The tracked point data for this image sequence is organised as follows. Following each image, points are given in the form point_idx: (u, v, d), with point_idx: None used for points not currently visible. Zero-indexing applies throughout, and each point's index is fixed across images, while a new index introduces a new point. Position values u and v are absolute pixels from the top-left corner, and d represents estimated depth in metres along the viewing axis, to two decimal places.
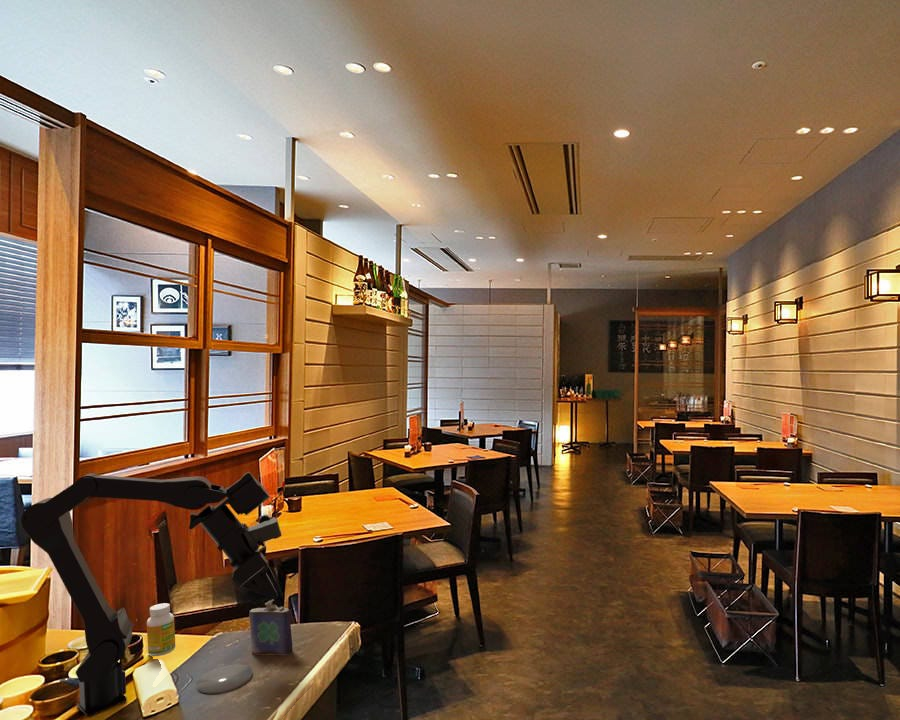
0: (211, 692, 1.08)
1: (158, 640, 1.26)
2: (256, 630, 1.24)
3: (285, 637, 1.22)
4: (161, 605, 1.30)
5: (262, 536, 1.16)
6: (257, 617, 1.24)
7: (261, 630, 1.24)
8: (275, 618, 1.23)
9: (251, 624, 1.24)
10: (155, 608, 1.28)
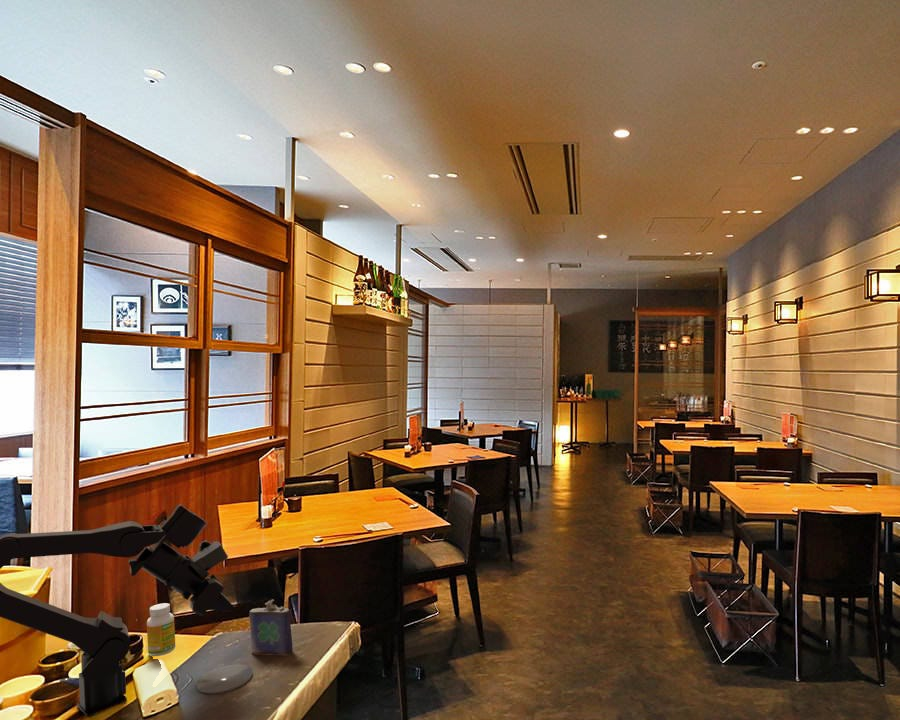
0: (211, 692, 1.08)
1: (158, 640, 1.26)
2: (256, 630, 1.24)
3: (285, 637, 1.22)
4: (161, 605, 1.30)
5: (209, 562, 1.17)
6: (257, 617, 1.24)
7: (261, 630, 1.24)
8: (275, 618, 1.23)
9: (251, 624, 1.24)
10: (155, 608, 1.28)
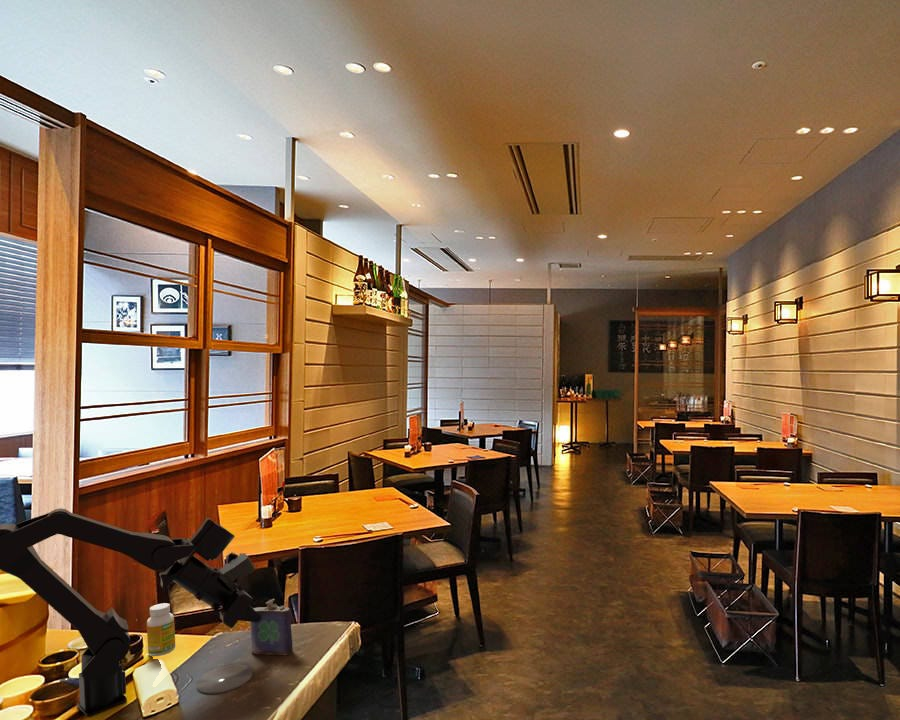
0: (211, 692, 1.08)
1: (158, 640, 1.26)
2: (256, 629, 1.24)
3: (285, 637, 1.22)
4: (161, 605, 1.29)
5: (237, 574, 1.19)
6: None
7: (261, 629, 1.24)
8: (275, 617, 1.23)
9: (251, 623, 1.24)
10: (155, 608, 1.28)
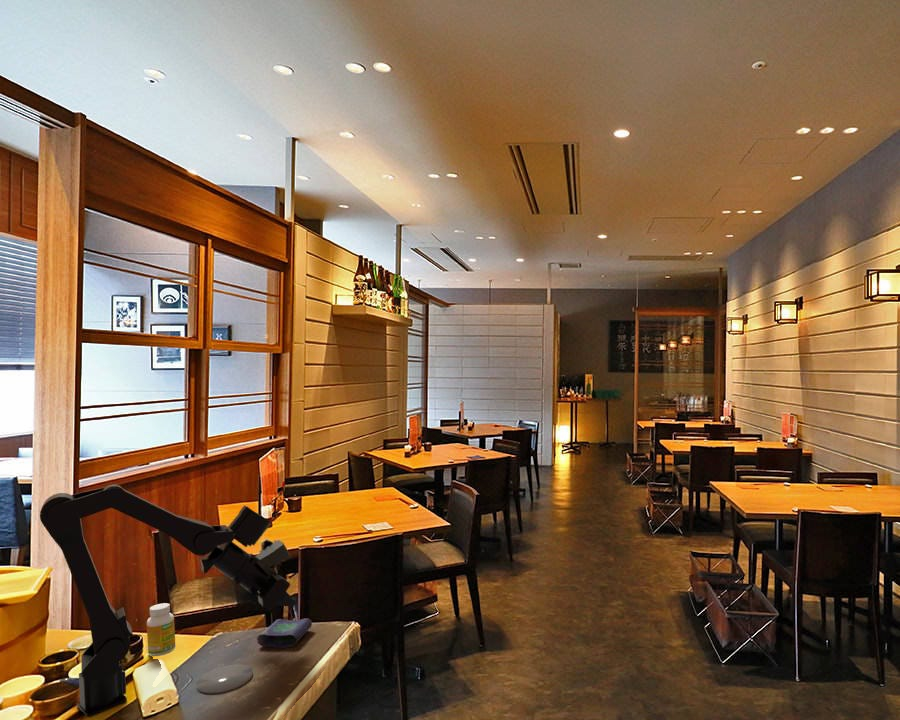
0: (211, 692, 1.08)
1: (158, 640, 1.26)
2: (275, 625, 1.31)
3: (299, 628, 1.29)
4: (161, 605, 1.29)
5: (274, 560, 1.23)
6: (281, 621, 1.34)
7: (279, 626, 1.31)
8: (298, 621, 1.33)
9: (272, 624, 1.33)
10: (155, 608, 1.28)
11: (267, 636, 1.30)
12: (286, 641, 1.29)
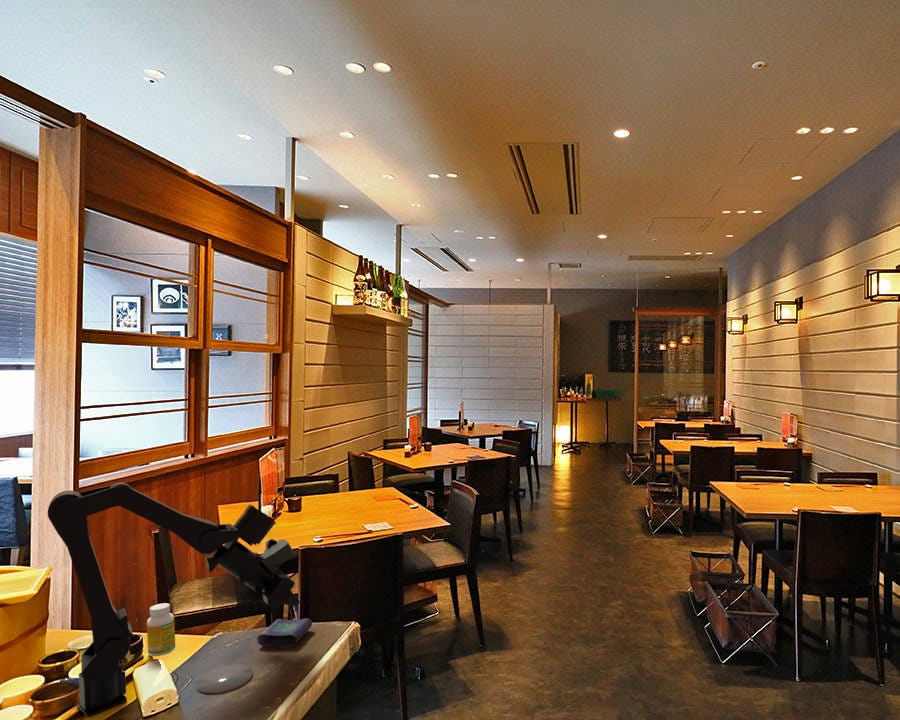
0: (211, 692, 1.08)
1: (158, 640, 1.26)
2: (275, 625, 1.31)
3: (299, 628, 1.29)
4: (161, 605, 1.29)
5: (278, 559, 1.24)
6: (281, 621, 1.34)
7: (279, 626, 1.31)
8: (298, 621, 1.33)
9: None
10: (155, 608, 1.28)
11: (267, 636, 1.30)
12: (286, 641, 1.29)
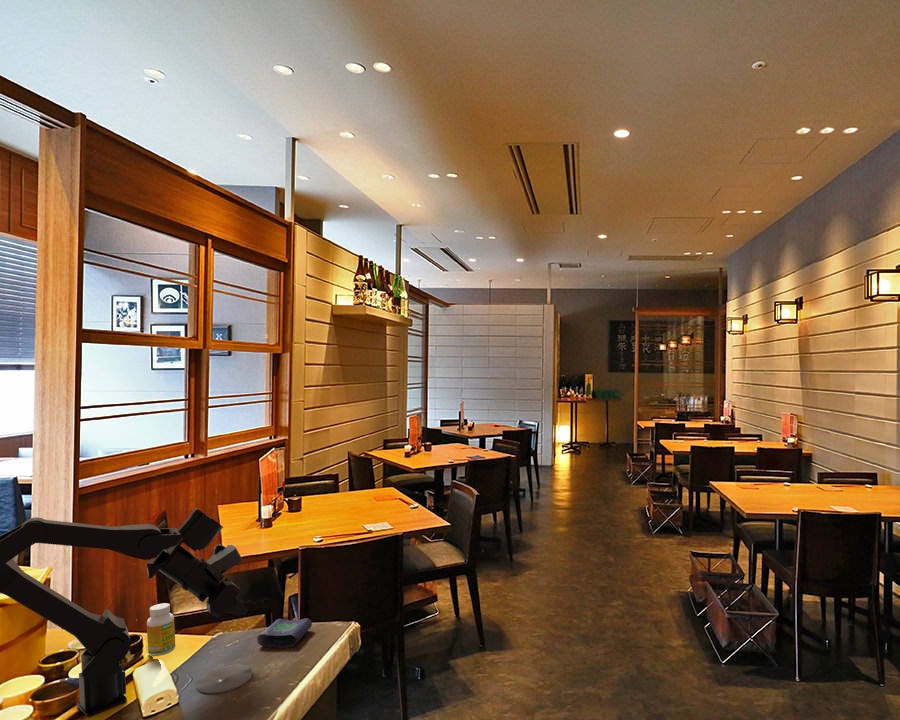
0: (211, 692, 1.08)
1: (158, 640, 1.26)
2: (275, 625, 1.31)
3: (299, 628, 1.29)
4: (161, 605, 1.29)
5: (225, 565, 1.18)
6: (281, 621, 1.34)
7: (279, 626, 1.31)
8: (298, 621, 1.33)
9: None
10: (155, 608, 1.28)
11: (267, 636, 1.30)
12: (286, 641, 1.29)
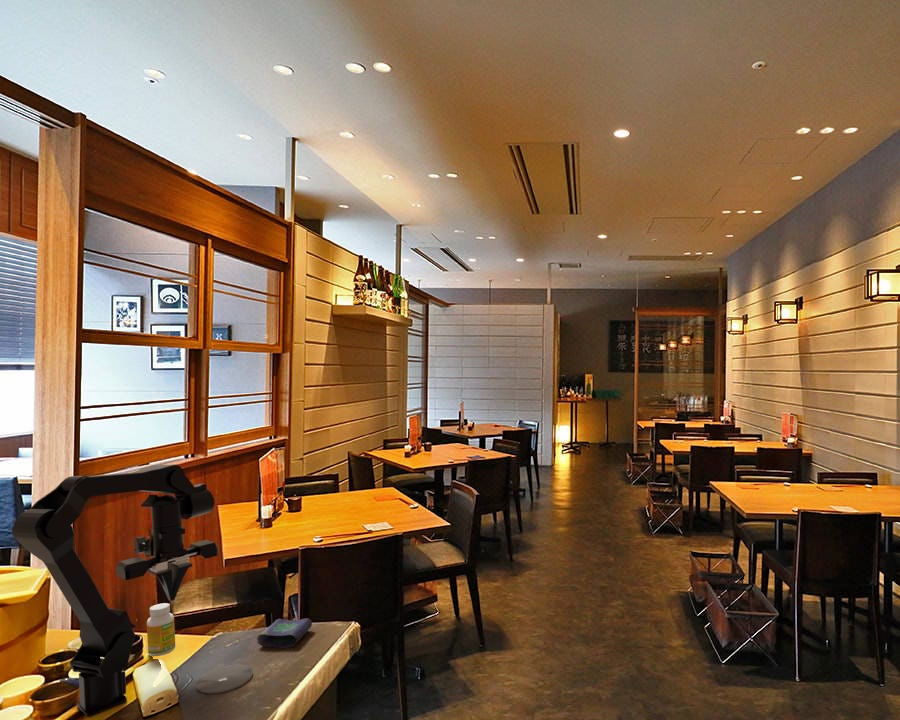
0: (211, 692, 1.08)
1: (158, 640, 1.26)
2: (275, 625, 1.31)
3: (299, 628, 1.29)
4: (161, 605, 1.29)
5: None
6: (281, 621, 1.34)
7: (279, 626, 1.31)
8: (298, 621, 1.33)
9: None
10: (155, 608, 1.28)
11: (267, 636, 1.30)
12: (286, 641, 1.29)
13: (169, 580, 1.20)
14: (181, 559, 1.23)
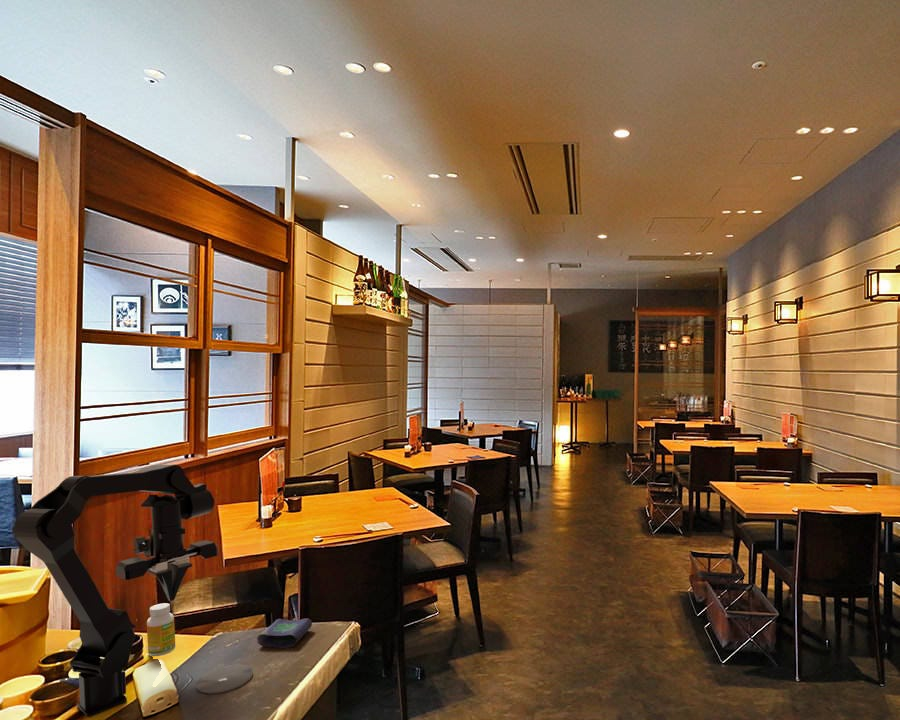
0: (211, 692, 1.08)
1: (158, 640, 1.26)
2: (275, 625, 1.31)
3: (299, 628, 1.29)
4: (161, 605, 1.30)
5: None
6: (281, 621, 1.34)
7: (279, 626, 1.31)
8: (298, 621, 1.33)
9: None
10: (155, 608, 1.28)
11: (267, 636, 1.30)
12: (286, 641, 1.29)
13: (169, 580, 1.20)
14: (181, 559, 1.24)
